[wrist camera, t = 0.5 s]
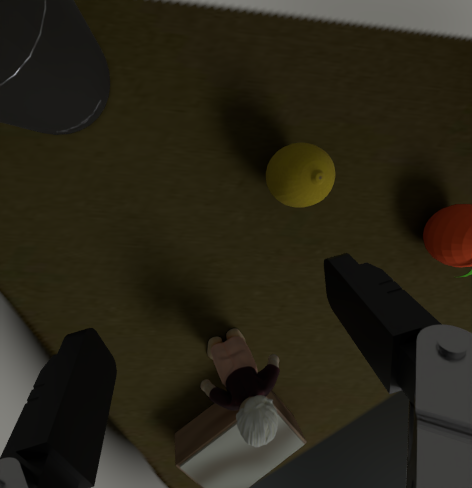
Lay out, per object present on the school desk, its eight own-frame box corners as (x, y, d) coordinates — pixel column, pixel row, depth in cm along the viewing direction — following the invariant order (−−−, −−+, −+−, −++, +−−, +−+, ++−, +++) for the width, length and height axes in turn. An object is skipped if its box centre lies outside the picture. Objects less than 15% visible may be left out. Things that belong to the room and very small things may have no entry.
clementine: (444, 267, 38) (503, 289, 31) (398, 261, 36) (451, 284, 30) (465, 204, 36) (533, 214, 30) (419, 196, 35) (479, 203, 28)
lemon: (280, 212, 31) (316, 227, 24) (244, 173, 30) (271, 177, 22) (317, 174, 31) (365, 177, 24) (284, 133, 29) (324, 122, 22)
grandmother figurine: (208, 371, 34) (231, 482, 22) (191, 347, 33) (205, 450, 21) (266, 336, 35) (318, 426, 23) (251, 311, 34) (298, 392, 22)
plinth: (174, 433, 35) (175, 467, 31) (255, 371, 36) (267, 398, 32) (218, 472, 38) (224, 508, 34) (293, 415, 39) (307, 444, 35)
